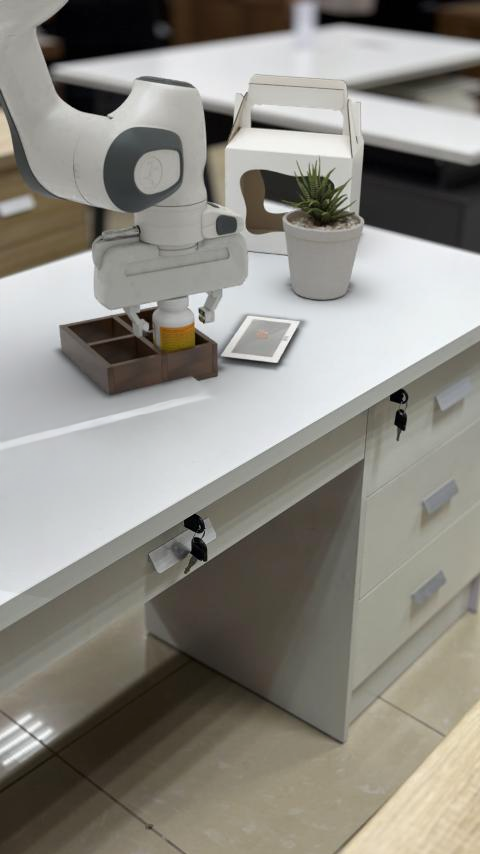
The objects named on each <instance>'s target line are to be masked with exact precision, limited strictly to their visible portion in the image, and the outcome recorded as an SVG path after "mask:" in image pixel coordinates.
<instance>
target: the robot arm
mask: <svg viewBox="0 0 480 854" xmlns="http://www.w3.org/2000/svg"><path fill="white" fill-rule="evenodd" d="M68 2H69V0H0V106H1V109H2V111H3V113H4V116H5V119H6V122H7V125H8V128H9V133H10V137H11V142H12V143H11V144H12V149H13V154H14V159H15V163H16V167H17V170H18V172H19V175H20V176H21V179H22V180H23V181H24V183H25V185H26V186H27V187H28V188H29V189H30V190H31V191H32V192H34V193H36V194H37V195H39V196H41V197H44V198H47V199H56V200H63V201H71V202H75V203H79V204H84V205H87V206H90V207H95V208H100V209H106V210H109V211H114V212H118V213H123V214H133V223H134V225H133V226H127V227H123V228H119V229H108V230H107V229H106V230H104V231H102V232H101V235H99V236H97V237H96V238H95V239H94V241H93V242H92V243H91V257H92V262H93V296H94V298H95V300H96V301H97V302H98V303H99V304H100V305H101V306H103V307H104V308H106V309H107V310H109V311H114V310H115V311H116V310H120V309H122V310H123V311H124V313H126V314H127V315H128V317H129V318H130V320H131V321H132V324H133V333H134V335H135V336H136V337H138V338H140V337H144V336H148V335H149V331H148V329H149V323H148V322H145V320H144V319H139V317H138V316H137V314H136V313H140V309H141V305H145V304H146V305H147V304H151V303H157V301H162V300H167V299H172V298H178V297H183V296H188V297H189V296H192V295H199V294H204V293H205V294H207V296H206V300H205V301H204V304H203V306H199V307H197V310H198V320H199V322H200V323H202V324H204V325H205V324H211V323H214V322H215V319H216V318H215V317H216V316H215V315H216V313H215V311H216V310H217V308H218V306H219V305H220V302H221V301H222V298H223V290H224V289H229V288H234V287H240V286H242V285H244V283H245V282H246V280H247V278H248V277H249V253H248V252H249V251H247V244H246V240H245V238H244V236H243V235H242V234H240V232H242V230H243V228H244V219H243V217H242V216H240V215H239V214H237V213H236V212H234V211H232V210H230V209H228V208H226V207H225V206H223V205H221V204H218V203H215V202H211V201H208V193H207V188H206V185H205V179H204V172H205V168H206V163H207V130H206V119H205V111H204V105H203V101H202V97H201V94H200V91H199V90H198V88H197V87H196V86H195V85H193V84H192V83H190V82H188V81H185V80H177V79H171V78H165V77H161V76H160V77H158V76H151V75H141V76H139V77H136V78H134V79H133V80H132V85H131V91H130V93H129V95H128V96H127V98H126V99H125V100H124V101H123V102H122V103H121V105H120V106H119V107H117V108H116V109H115V110H113V111H112V112H110V113H108V114H107V115H105V116H104V115H99V114H95V113H89V112H84V111H81V110H78V109H76V108H75V107H72V106H71V105H70V104H68V103H67V102H66V101H64V100H63V99H62V98H61V97H60V96H59V94H58V92H57V90H56V88H55V86H54V83H53V80H52V77H51V74H50V71H49V68H48V66H47V65H48V64H47V63H46V60H45V56H44V54H43V51H42V48H41V45H40V42H39V39H38V35H37V27H39V26H41V25H42V24H43V23H45V22H46V21H48V20H50V19H51V18H52V17H54V15H56V14H57V13H58V12H59V11H60V10H61V9H63V7H64V6H65V5H66V4H67V3H68Z"/></svg>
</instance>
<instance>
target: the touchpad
mask: <svg viewBox="0 0 480 854" xmlns="http://www.w3.org/2000/svg"><path fill="white" fill-rule="evenodd" d="M300 323H301V321H299V320H291V319H283V318H280V319H279V318H275V317H263V316H256V315H247V316H246V318H245V319H244V320H243V322H242V324H241V325H240V326H239V328H238V329H237V331H236V332H235V334H234V336H233V337H232V338H231V340H230V341H229V343H228V344H227V345H226V347H225V348H224V350H223V351H222V353H221V355H220V357H225V358H233V359H241V360H249V361H258V362H267V363H275V364H278V363H279V361H280V358H281V357H282V355H283V354H284V352H285V350H286V348H287V346H288V344H289V342H290V341H291V339H292V337H293V335H294V334H295V332H296V330H297V328H298V326H299V324H300Z"/></svg>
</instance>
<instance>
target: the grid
mask: <svg viewBox="0 0 480 854" xmlns="http://www.w3.org/2000/svg"><path fill="white" fill-rule="evenodd" d="M158 308H159V307H158V306H157V305H156V306H152V307H151V306H150V307H145V308H140V313H136V314H137V316H138V317H139V319H144V320H145V322H148V323H149V329H148V331H149V335H148V336H144V337H140V338H138V337H136V336H135V335H134V333H133V324H132V321H131V320H130V318H129V317H128V315H127V314H126V313H125V312H121V313H116V314H110V315H105V316H100V317H95V318H91V319H86V320H85V319H84V320H80V321H75V322H70V323H65V324H59V325H58V328H59V338H60V348H61V349H60V350H61V352H62V353H63V354H64V355H65V356H66V357H67V358H68V359H70V361H71V362H73V363H74V364H75V365H76V366H77V367H78V368H79V369H80V370H81V371H82V372H83V373H85V375H87V376H88V377H89V378H90V379H91V380H92V381H93V382H94V383H95V384H96V385H97V386H99V388H101V389H102V391H104V392H105V394H107V396H113V395H117V394H122V393H125V392H130V391H134V390H138V389H143V388H147V387H151V386H155V385H159V384H162V383H167V382H172V381H176V380H180V379H185V378H188V377H192V378H194V379H195V381H198V382H199V381H202V380H206V379H211V378H215V377H218V376H219V362H218V361H219V358H218V357H219V353H218V352H219V351H218V347H219V346H218V342H216V340H213V339H212V338H211V337H209V336H208V335H207V334H205V333H204V332H202V331H201V330H199V329H198V328H197V327H195V346H192V347H187V348H183V349H178V350H174V351H169V352H165V353H164V352H163V351H161V350H160V349H159V348H158V347H156V346H155V345H154V343H153V322H152V316H153V313H154V311H155V310H157V309H158Z"/></svg>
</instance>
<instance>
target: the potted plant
mask: <svg viewBox="0 0 480 854" xmlns="http://www.w3.org/2000/svg"><path fill="white" fill-rule="evenodd" d="M296 162H297V160H296ZM297 165H298V162H297ZM316 167H317V160H316V164H315V170H314V167H313V164H312V175H311V171H310V163H309V173H308V171H307V174H308V176H307V178H308V181H307V179H306V178H305V176H303V174H302V172H301V170H300V167H299V165H298V168H299V171H300V174H301V176H300V177H301V179H302V182H303V183H302V182H301V181H300V179H299V176H297V175H296V173H295V171H294V173H295V176H294V177H295V179H296V182H297V185H298V186H299V189H300V190H301V192H302V195H303V196H302V195H301V194H300V193H299V192H298V191H296V193H297V194H298V196H299V197H300V199H301V202H299V203H297V202H293V201H287V200H283V199H280V201H281V202H284V203H286V204H285V206H286V207H293V208H292V209H293V210H290V211H287V212H288V213H286V214H285V215H284V216H283V228H284V231H285V236H286V244H287V252H288V255H287V259H288V260H287V261H288V270H289V276H290V283H291V289H292V290H293V292H294V293H295V294H296V295H298V296H300V297H302V298H305V299H311V300H315V301H316V300H317V301H318V300H320V301H321V300H322V301H323V300H324V301H325V300H326V301H328V300H335V299H337V298H340V297H342V296H344V295H345V294H346V293H347V292H348V288H349V285H350V281H351V277H352V273H353V269H354V264H355V260H356V257H357V251H358V248H359V243H360V239H361V235H362V234H363V230H364V226H365V219H364V218H363V217H362V216H361V215H360V214H359V215H357V214H355V212H349V211H346V210H345V209H347V208H348V207H350V206H351V205H352V204H353V203H354V202H355V201H356V200H355V201H354V202H352V203H351V204H350V205H348V206H346V207H344V208H342V209H337V208H338V207H339V206H340V205H341V204H342V203H343V202H344V201H345V200H346V199H348V198H347V197H345V198H344V199H343V200H342V201H340V200H341V199H342V198H343V197H344V196H346V195H347V194H344V195H342V196H340V197H339V198H338V196H339V195H340V193H341V192H342V190H343V189H344V187H345V186H346V184H347V183H348V182H349V181H350V180H351V179H352V178H350V179H349V180H348V181H347V182H346V183H345V184H344V185H341V186H339V187H338V188H336V189H335V188H333V190H332V189H331V188H332V186H331V185H332V183H330V182H329V184H328V181H329V180H330V179H329V176H330V174H331V173H332V172H333V171H334V170H335V168H334V169H333V170H331V171H330V172H329V173H328V174H327V175H326V177H323V175H322V176H320V157H319V171H318V176H317V171H316ZM321 177H322V180H321ZM321 181H322V182H321ZM326 188H327V191H326V192H325V190H326ZM337 192H338V193H337ZM336 193H337V194H336ZM335 194H336V196H335V197H334V198H333V196H334V195H335ZM332 198H333V199H332ZM339 201H340V202H339ZM338 202H339V203H338ZM337 203H338V204H337ZM295 208H298V209H295Z"/></svg>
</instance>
